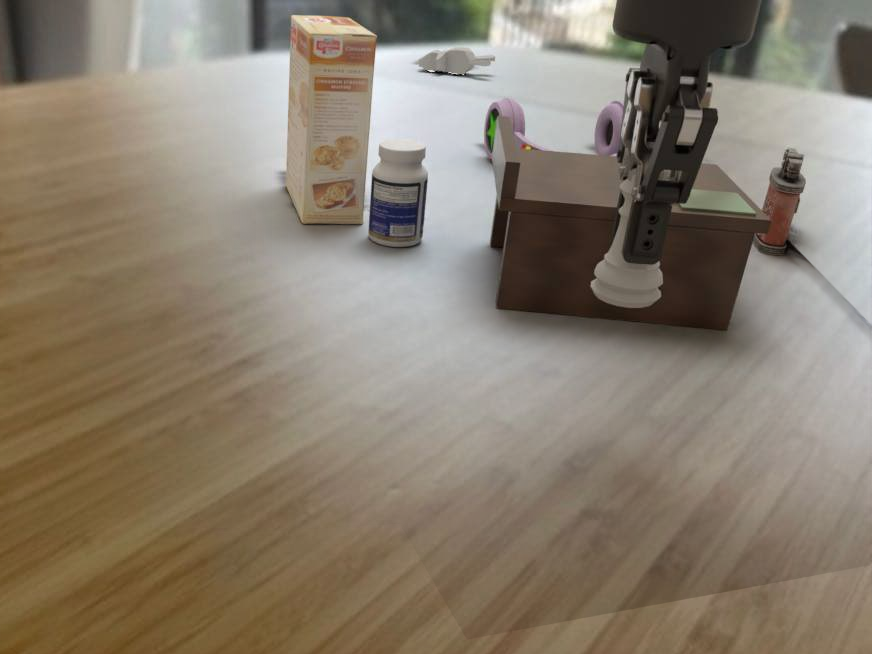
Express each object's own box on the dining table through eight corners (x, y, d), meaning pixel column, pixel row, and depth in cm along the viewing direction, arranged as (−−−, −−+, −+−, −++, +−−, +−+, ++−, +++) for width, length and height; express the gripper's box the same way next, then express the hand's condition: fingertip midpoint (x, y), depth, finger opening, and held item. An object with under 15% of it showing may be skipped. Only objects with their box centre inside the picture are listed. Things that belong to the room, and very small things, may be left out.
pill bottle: (386, 226, 98) (394, 134, 94) (431, 239, 96) (442, 144, 91) (357, 239, 94) (363, 143, 89) (403, 252, 91) (413, 154, 87)
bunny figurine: (425, 46, 192) (496, 44, 187) (426, 72, 194) (496, 70, 190) (415, 52, 184) (489, 50, 179) (415, 78, 186) (488, 77, 182)
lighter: (788, 257, 97) (817, 163, 92) (754, 252, 97) (781, 159, 93) (781, 234, 103) (808, 146, 98) (749, 230, 104) (774, 142, 99)
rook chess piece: (674, 307, 57) (704, 182, 53) (612, 312, 56) (639, 186, 52) (634, 280, 61) (660, 162, 57) (576, 285, 60) (598, 165, 56)
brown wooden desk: (692, 259, 94) (724, 133, 88) (739, 331, 78) (783, 184, 72) (480, 240, 96) (497, 115, 90) (484, 307, 80) (505, 161, 74)
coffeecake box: (365, 225, 99) (379, 34, 89) (300, 225, 97) (307, 32, 88) (341, 185, 111) (351, 15, 102) (284, 185, 110) (288, 13, 101)
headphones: (618, 99, 129) (692, 111, 111) (608, 169, 133) (678, 192, 114) (486, 96, 126) (539, 107, 107) (479, 168, 129) (530, 191, 111)
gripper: (816, -41, 42) (723, 299, 51) (735, -56, 55) (671, 220, 63) (652, -50, 43) (587, 288, 51) (608, -62, 55) (562, 212, 64)
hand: (634, 249), depth 57 cm, fingers closed on rook chess piece, 3 cm apart
